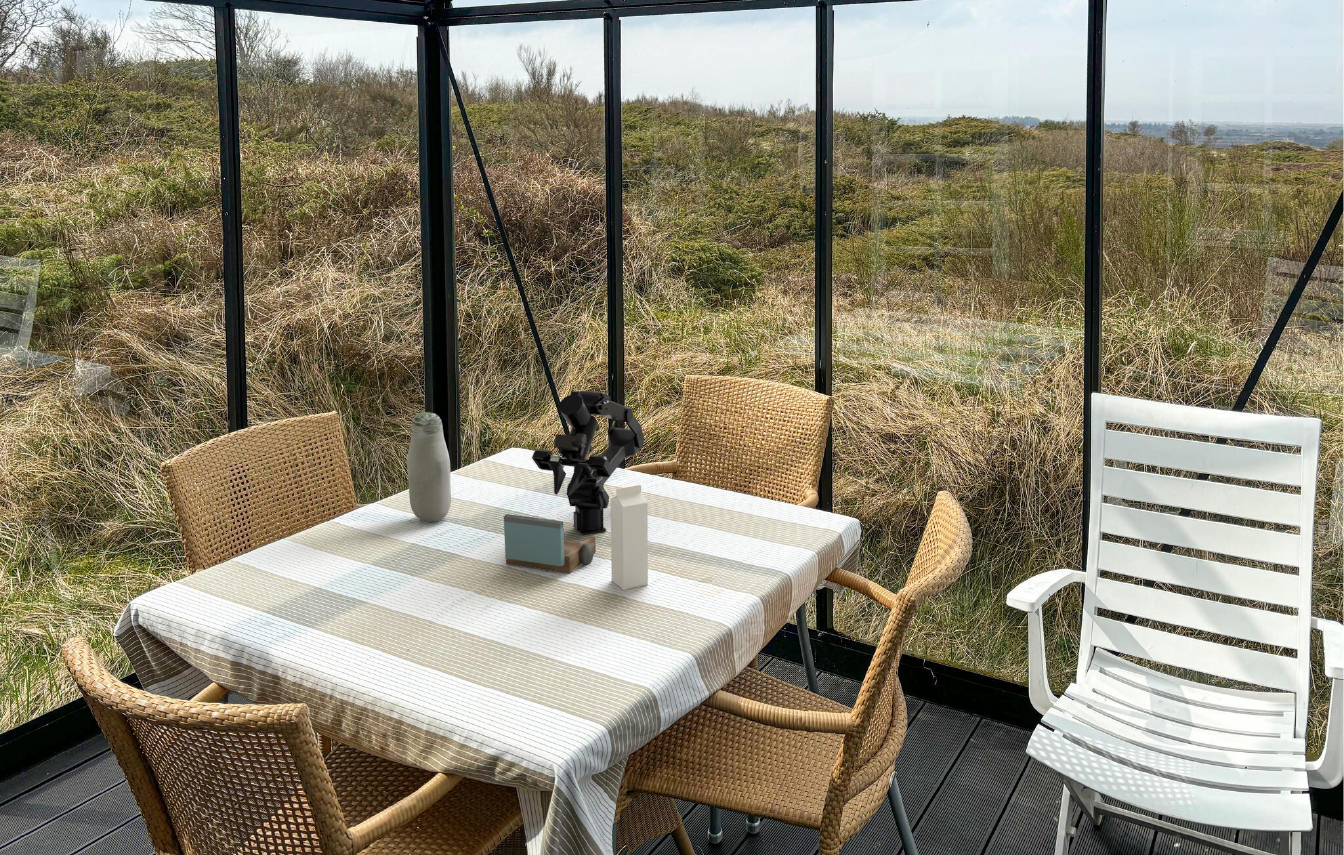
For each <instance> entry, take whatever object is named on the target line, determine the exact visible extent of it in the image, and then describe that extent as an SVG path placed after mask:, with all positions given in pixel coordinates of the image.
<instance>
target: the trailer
mask: <svg viewBox="0 0 1344 855" xmlns="http://www.w3.org/2000/svg"><path fill="white" fill-rule="evenodd" d="M596 544H597V543H596V535H595V536H594V535H590V536H589V537H587V538H586V539H585V540H583V541H582V542H580V541H572V540H565V539H564V565H563V566H555V565H549V564H542V563H535V562H528V561H521V560H514V559H507V558H505V564H506V565H509V566H516V567H517V566H518V567H523V568H529V569H530V568H531V569H536V570H543V571H550V572H555V573H556V572H557V573H563V574H564V573H565V574H569V575H570V574H571V573H572V572H574V571H575V570H576V569H577V568H578V567H579V566H581V565H582V564H583V565H590V564H591V563H592V561H593V559H594V554H596V552H597V551H596V546H597V545H596Z"/></svg>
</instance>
